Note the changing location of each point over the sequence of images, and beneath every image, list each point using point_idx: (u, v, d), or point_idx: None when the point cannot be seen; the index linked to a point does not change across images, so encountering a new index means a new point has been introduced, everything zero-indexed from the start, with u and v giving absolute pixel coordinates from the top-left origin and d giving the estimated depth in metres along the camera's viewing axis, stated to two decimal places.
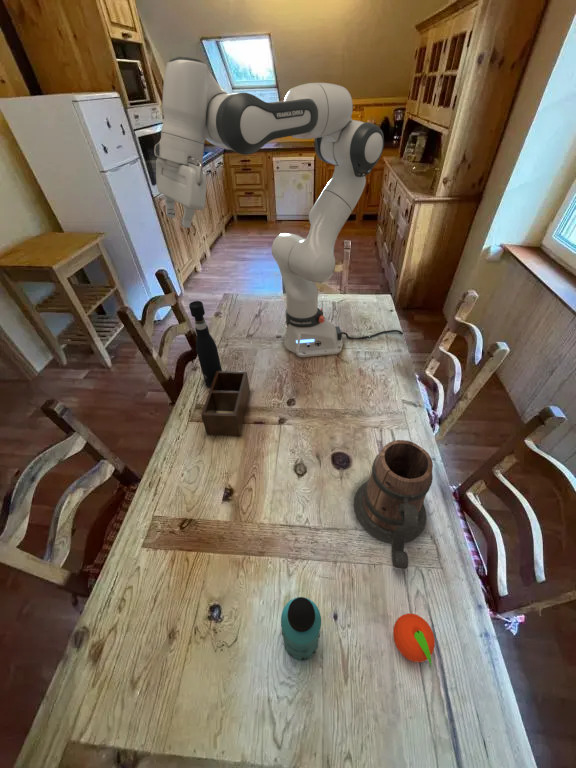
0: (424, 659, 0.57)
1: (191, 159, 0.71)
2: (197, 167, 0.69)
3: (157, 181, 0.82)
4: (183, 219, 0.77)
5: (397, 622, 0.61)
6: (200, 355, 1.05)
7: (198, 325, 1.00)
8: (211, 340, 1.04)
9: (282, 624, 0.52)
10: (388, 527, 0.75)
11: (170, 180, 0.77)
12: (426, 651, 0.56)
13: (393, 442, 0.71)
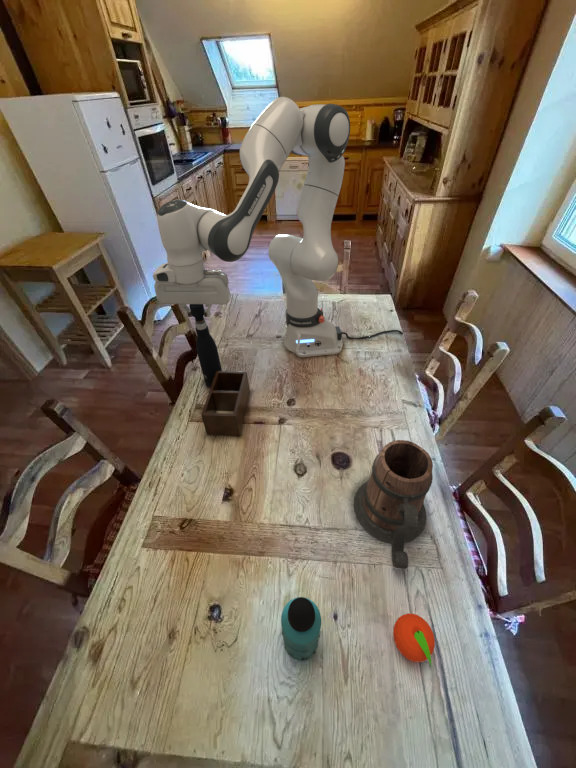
0: (424, 659, 0.57)
1: (210, 272, 0.89)
2: (222, 276, 0.90)
3: (159, 297, 0.94)
4: (207, 312, 0.97)
5: (397, 622, 0.61)
6: (200, 355, 1.05)
7: (198, 325, 1.00)
8: (211, 340, 1.04)
9: (282, 624, 0.52)
10: (388, 527, 0.75)
11: (185, 292, 0.92)
12: (426, 651, 0.56)
13: (393, 442, 0.71)
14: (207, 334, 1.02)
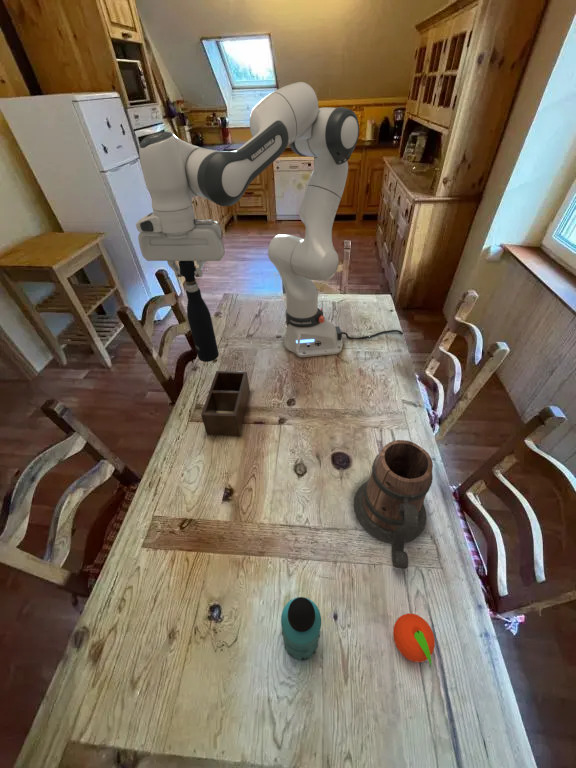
0: (424, 659, 0.57)
1: (201, 221, 0.79)
2: (214, 226, 0.79)
3: (144, 252, 0.83)
4: (198, 271, 0.87)
5: (397, 622, 0.61)
6: (191, 322, 0.95)
7: (189, 286, 0.89)
8: (204, 305, 0.94)
9: (282, 624, 0.52)
10: (388, 527, 0.75)
11: (173, 246, 0.82)
12: (426, 651, 0.56)
13: (393, 442, 0.71)
14: (199, 298, 0.92)
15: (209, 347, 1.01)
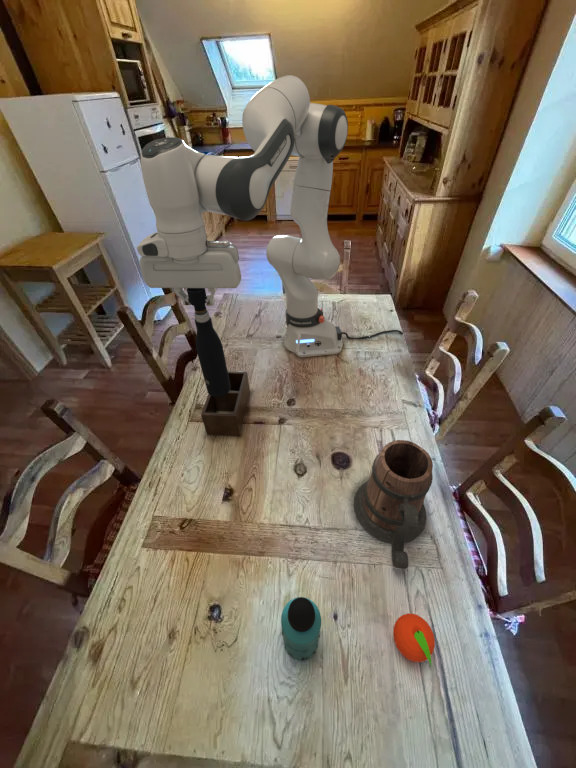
0: (424, 659, 0.57)
1: (214, 243, 0.66)
2: (230, 249, 0.67)
3: (147, 279, 0.71)
4: (210, 299, 0.74)
5: (397, 622, 0.61)
6: (201, 355, 0.82)
7: (199, 316, 0.76)
8: (215, 336, 0.81)
9: (282, 624, 0.52)
10: (388, 527, 0.75)
11: (181, 272, 0.69)
12: (426, 651, 0.56)
13: (393, 442, 0.71)
14: (210, 328, 0.79)
15: (221, 381, 0.88)
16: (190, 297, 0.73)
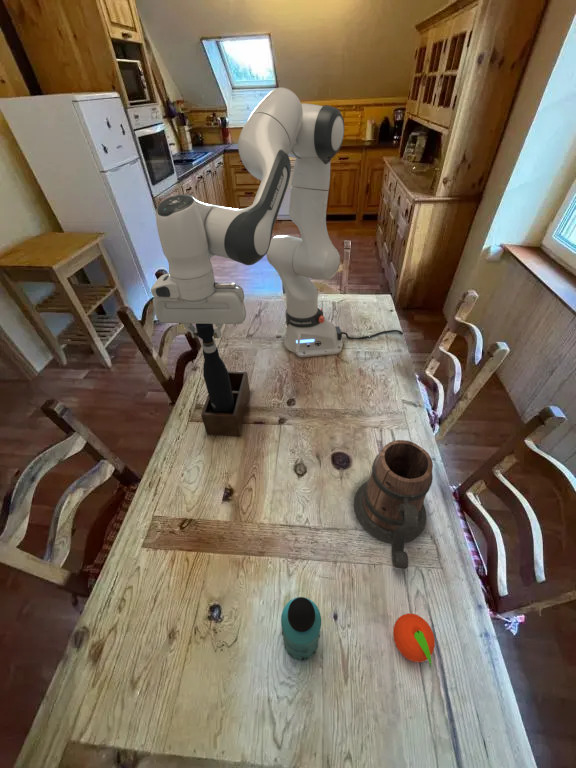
0: (424, 659, 0.57)
1: (222, 285, 0.72)
2: (236, 290, 0.72)
3: (159, 316, 0.76)
4: (217, 333, 0.80)
5: (397, 622, 0.61)
6: (208, 382, 0.88)
7: (206, 348, 0.82)
8: (221, 364, 0.87)
9: (282, 624, 0.52)
10: (388, 527, 0.75)
11: (191, 310, 0.75)
12: (426, 651, 0.56)
13: (393, 442, 0.71)
14: (217, 358, 0.85)
15: (226, 404, 0.94)
16: (199, 331, 0.79)
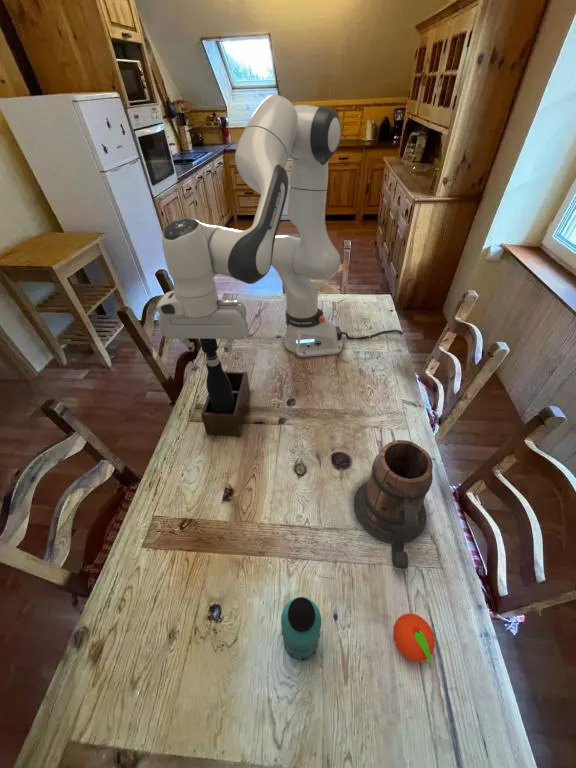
0: (424, 659, 0.57)
1: (225, 303, 0.75)
2: (239, 307, 0.75)
3: (164, 331, 0.79)
4: (228, 347, 0.82)
5: (397, 622, 0.61)
6: (211, 394, 0.91)
7: (210, 361, 0.85)
8: (224, 377, 0.90)
9: (282, 624, 0.52)
10: (388, 527, 0.75)
11: (195, 325, 0.78)
12: (426, 651, 0.56)
13: (393, 442, 0.71)
14: (220, 371, 0.88)
15: None
16: (203, 346, 0.82)
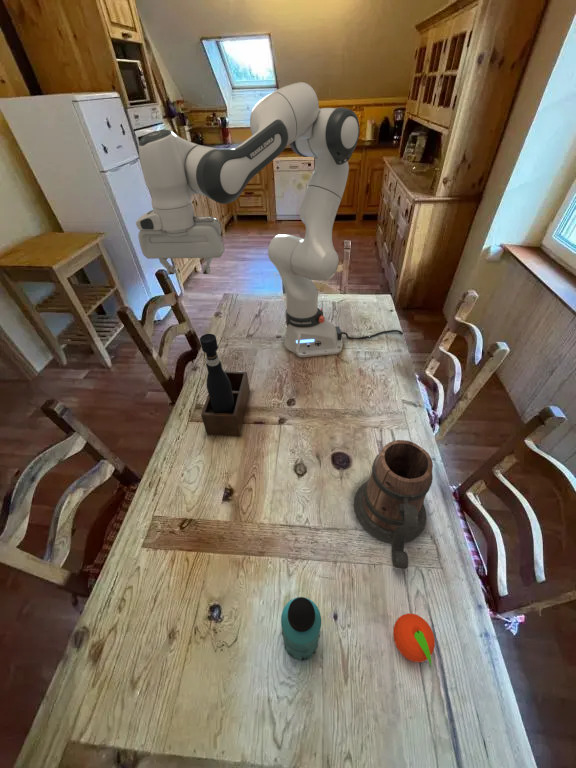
0: (424, 659, 0.57)
1: (200, 219, 0.79)
2: (214, 223, 0.80)
3: (144, 250, 0.84)
4: (206, 268, 0.87)
5: (397, 622, 0.61)
6: (211, 394, 0.91)
7: (210, 361, 0.85)
8: (224, 377, 0.90)
9: (282, 624, 0.52)
10: (388, 527, 0.75)
11: (173, 243, 0.82)
12: (426, 651, 0.56)
13: (393, 442, 0.71)
14: (220, 370, 0.88)
15: None
16: (203, 346, 0.82)
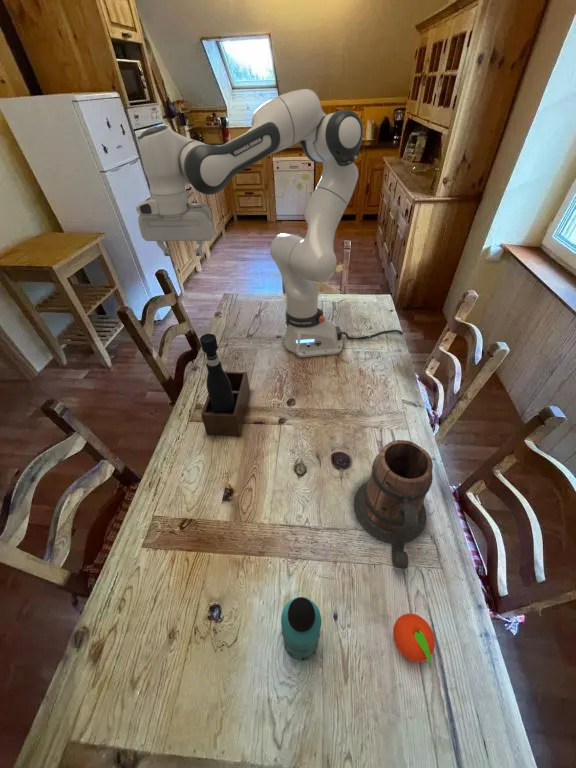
0: (424, 659, 0.57)
1: (193, 205, 0.90)
2: (205, 209, 0.90)
3: (143, 233, 0.94)
4: (198, 250, 0.97)
5: (397, 622, 0.61)
6: (211, 394, 0.91)
7: (210, 361, 0.85)
8: (224, 377, 0.90)
9: (282, 624, 0.52)
10: (388, 527, 0.75)
11: (169, 227, 0.93)
12: (426, 651, 0.56)
13: (393, 442, 0.71)
14: (220, 370, 0.88)
15: None
16: (203, 346, 0.82)
